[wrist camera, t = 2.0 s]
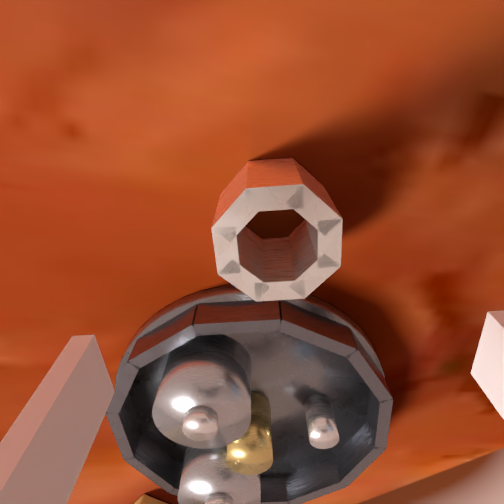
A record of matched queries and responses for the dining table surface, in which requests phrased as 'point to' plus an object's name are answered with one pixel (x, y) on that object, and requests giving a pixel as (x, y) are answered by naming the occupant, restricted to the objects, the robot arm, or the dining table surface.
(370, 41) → the dining table surface
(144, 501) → the cheese
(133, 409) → the carrier
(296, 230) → the octagonal hollow container
